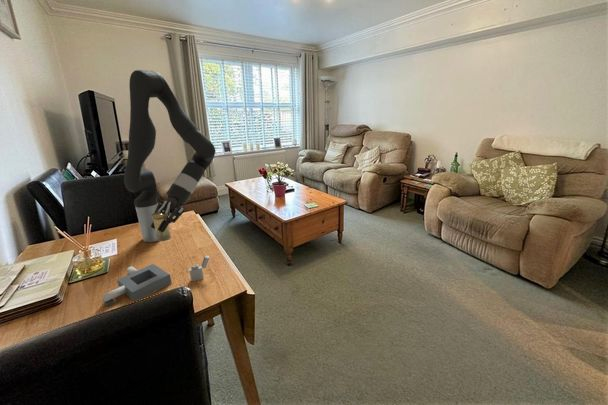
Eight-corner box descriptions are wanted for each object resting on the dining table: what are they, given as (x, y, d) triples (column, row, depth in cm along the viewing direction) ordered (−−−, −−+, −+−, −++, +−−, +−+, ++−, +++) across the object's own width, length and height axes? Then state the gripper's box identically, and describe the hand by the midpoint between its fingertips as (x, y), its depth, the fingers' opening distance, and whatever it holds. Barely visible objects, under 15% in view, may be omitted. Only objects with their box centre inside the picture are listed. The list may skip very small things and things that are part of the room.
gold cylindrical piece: (154, 239, 96) (148, 214, 93) (167, 234, 100) (162, 210, 97) (161, 242, 94) (155, 217, 91) (174, 237, 97) (169, 213, 94)
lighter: (191, 281, 94) (187, 261, 92) (191, 278, 96) (187, 259, 93) (212, 276, 97) (209, 256, 95) (211, 273, 99) (208, 254, 96)
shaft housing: (93, 292, 90) (90, 283, 89) (148, 267, 104) (146, 259, 103) (113, 312, 80) (110, 302, 79) (171, 282, 94) (169, 274, 93)
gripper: (164, 180, 100) (137, 221, 95) (185, 185, 92) (157, 230, 87) (180, 190, 106) (155, 229, 101) (201, 196, 98) (176, 238, 93)
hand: (156, 229), depth 94 cm, fingers closed on gold cylindrical piece, 4 cm apart
